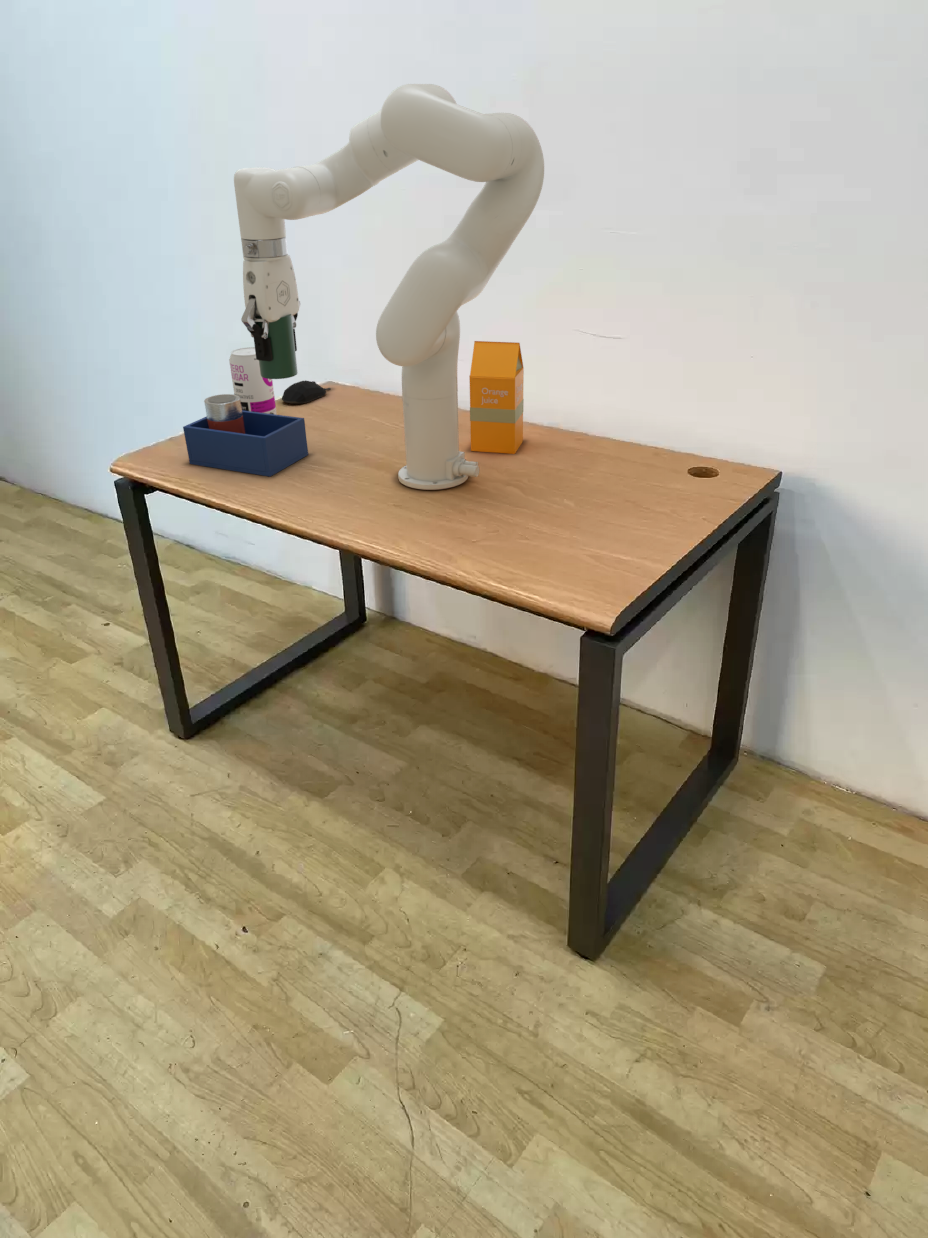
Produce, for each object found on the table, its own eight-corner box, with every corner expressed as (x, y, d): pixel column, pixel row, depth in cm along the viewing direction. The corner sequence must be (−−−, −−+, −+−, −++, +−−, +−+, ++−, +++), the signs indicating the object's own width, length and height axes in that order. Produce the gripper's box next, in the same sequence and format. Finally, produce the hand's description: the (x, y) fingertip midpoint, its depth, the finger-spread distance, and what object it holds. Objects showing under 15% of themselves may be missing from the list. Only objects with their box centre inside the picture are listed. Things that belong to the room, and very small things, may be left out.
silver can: (255, 449, 176) (247, 395, 170) (234, 460, 170) (225, 405, 165) (227, 445, 178) (219, 392, 173) (205, 455, 173) (196, 401, 168)
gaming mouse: (340, 391, 213) (338, 374, 211) (296, 407, 202) (294, 389, 200) (320, 387, 216) (318, 370, 214) (276, 403, 205) (274, 385, 203)
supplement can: (281, 416, 196) (273, 346, 189) (271, 428, 189) (261, 356, 182) (245, 416, 197) (235, 346, 190) (233, 428, 190) (222, 356, 183)
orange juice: (515, 454, 172) (515, 347, 162) (470, 451, 174) (468, 345, 164) (523, 440, 178) (524, 337, 168) (480, 438, 181) (478, 336, 171)
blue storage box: (308, 454, 174) (304, 417, 171) (270, 476, 165) (265, 438, 161) (230, 443, 181) (225, 407, 178) (189, 463, 171) (182, 426, 168)
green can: (304, 371, 165) (298, 311, 160) (283, 380, 160) (276, 319, 154) (274, 368, 167) (268, 308, 162) (253, 376, 162) (245, 316, 157)
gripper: (251, 257, 145) (265, 369, 154) (312, 243, 158) (321, 346, 167) (214, 255, 147) (229, 364, 156) (276, 241, 161) (287, 343, 170)
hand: (276, 354), depth 162 cm, fingers closed on green can, 6 cm apart
